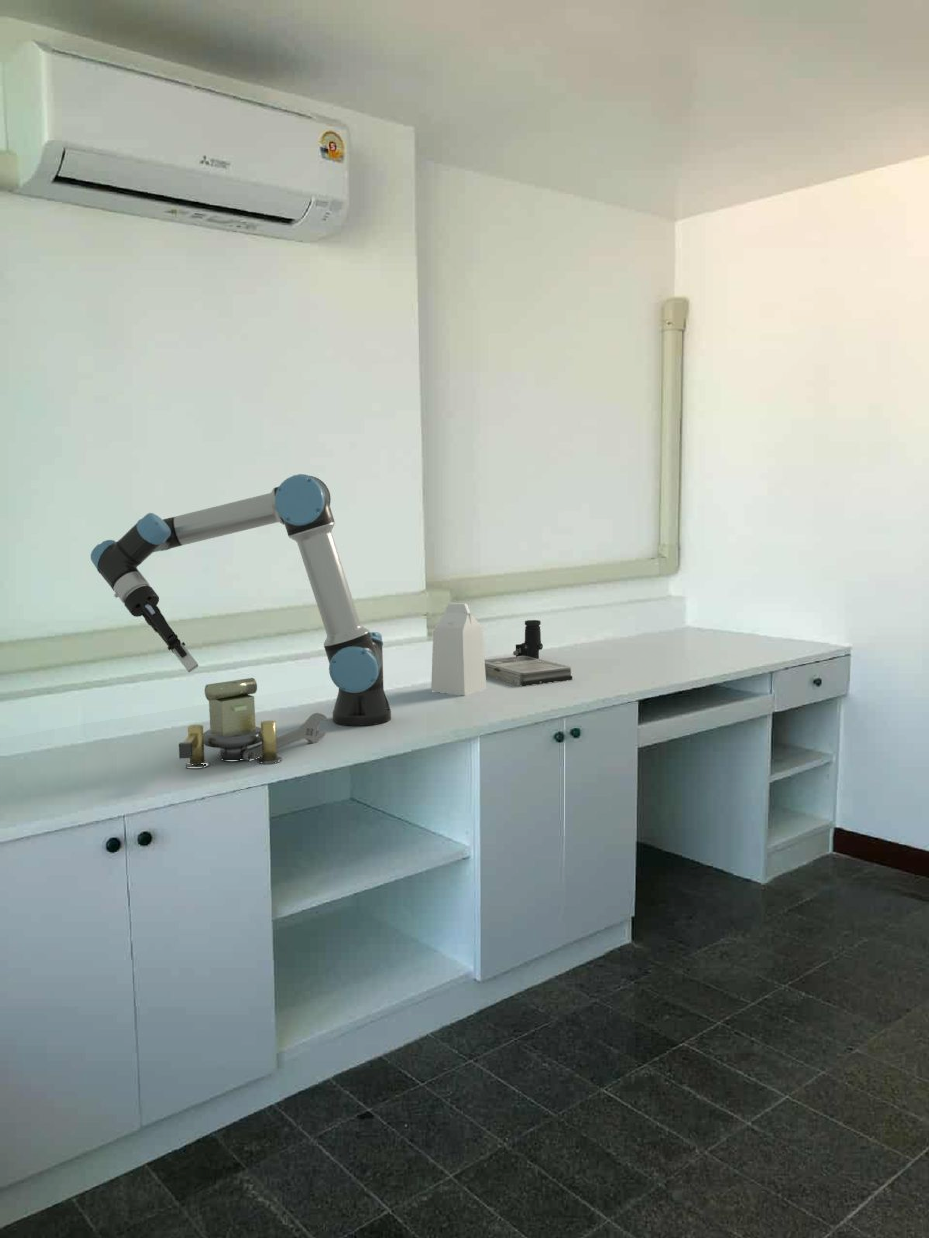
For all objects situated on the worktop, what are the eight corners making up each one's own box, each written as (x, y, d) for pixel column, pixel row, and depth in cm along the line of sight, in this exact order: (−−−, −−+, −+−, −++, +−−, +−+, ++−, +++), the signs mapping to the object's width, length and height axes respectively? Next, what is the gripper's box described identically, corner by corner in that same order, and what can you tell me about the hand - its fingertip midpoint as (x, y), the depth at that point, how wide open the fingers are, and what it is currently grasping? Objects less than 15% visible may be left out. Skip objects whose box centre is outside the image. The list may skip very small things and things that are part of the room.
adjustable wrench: (246, 752, 224) (241, 750, 225) (252, 778, 225) (246, 777, 226) (325, 710, 242) (320, 709, 243) (330, 735, 244) (324, 734, 245)
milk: (486, 689, 302) (485, 602, 298) (464, 695, 292) (463, 606, 289) (453, 685, 308) (451, 600, 305) (431, 691, 299) (429, 604, 296)
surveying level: (239, 744, 240) (236, 671, 238) (286, 760, 225) (282, 682, 222) (165, 759, 228) (161, 682, 226) (208, 777, 212) (204, 695, 210)
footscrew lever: (191, 760, 223) (189, 725, 222) (205, 759, 224) (204, 724, 223) (178, 778, 209) (176, 740, 208) (194, 777, 210) (192, 739, 209)
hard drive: (522, 687, 305) (522, 673, 304) (477, 674, 328) (476, 661, 328) (572, 681, 314) (572, 667, 314) (524, 668, 337) (524, 655, 337)
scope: (526, 618, 355) (549, 620, 349) (526, 657, 357) (549, 660, 350) (511, 621, 349) (534, 623, 343) (512, 660, 351) (534, 663, 344)
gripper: (129, 614, 247) (184, 686, 241) (116, 592, 235) (174, 668, 229) (156, 597, 249) (211, 668, 243) (144, 574, 237) (202, 648, 231)
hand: (193, 668), depth 236 cm, fingers closed
